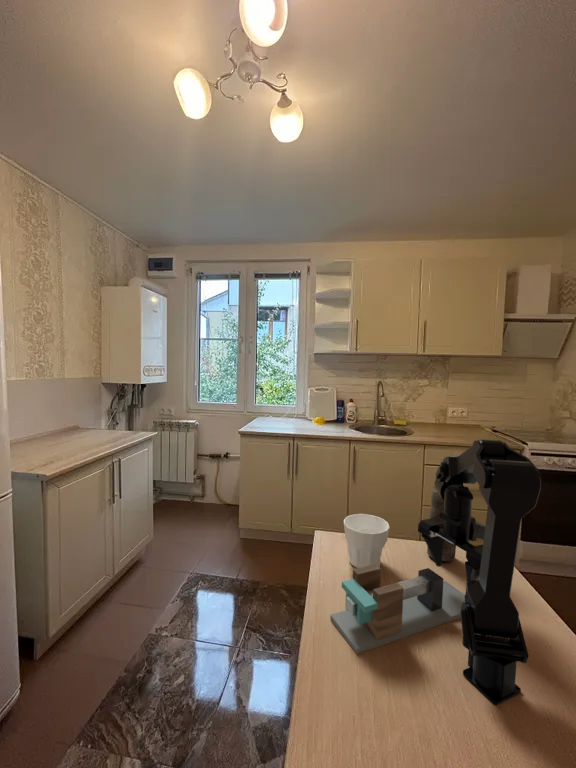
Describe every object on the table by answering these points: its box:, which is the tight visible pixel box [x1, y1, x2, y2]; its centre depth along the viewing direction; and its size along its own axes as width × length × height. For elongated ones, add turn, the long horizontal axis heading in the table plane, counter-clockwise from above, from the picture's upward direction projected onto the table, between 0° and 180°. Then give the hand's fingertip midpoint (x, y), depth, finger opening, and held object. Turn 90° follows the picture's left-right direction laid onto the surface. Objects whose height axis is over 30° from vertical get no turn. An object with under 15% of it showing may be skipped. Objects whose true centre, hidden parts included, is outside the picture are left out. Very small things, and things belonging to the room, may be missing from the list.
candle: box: [426, 486, 457, 563], centre depth 102 cm, size 8×7×20 cm
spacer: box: [341, 578, 378, 625], centre depth 73 cm, size 8×3×5 cm, turn 23°
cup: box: [343, 513, 390, 569], centre depth 99 cm, size 12×12×11 cm
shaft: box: [345, 567, 444, 616], centre depth 77 cm, size 4×23×7 cm, turn 113°
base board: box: [329, 580, 466, 655], centre depth 79 cm, size 10×33×1 cm, turn 113°
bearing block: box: [352, 564, 403, 640], centre depth 75 cm, size 9×6×10 cm, turn 23°
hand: (453, 576), depth 84 cm, fingers open, 9 cm apart
